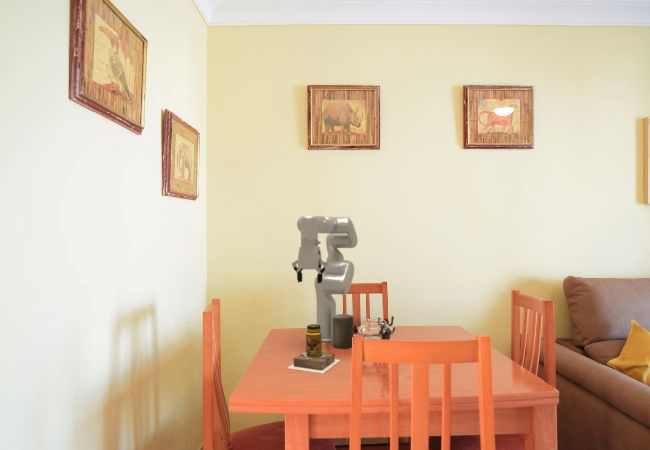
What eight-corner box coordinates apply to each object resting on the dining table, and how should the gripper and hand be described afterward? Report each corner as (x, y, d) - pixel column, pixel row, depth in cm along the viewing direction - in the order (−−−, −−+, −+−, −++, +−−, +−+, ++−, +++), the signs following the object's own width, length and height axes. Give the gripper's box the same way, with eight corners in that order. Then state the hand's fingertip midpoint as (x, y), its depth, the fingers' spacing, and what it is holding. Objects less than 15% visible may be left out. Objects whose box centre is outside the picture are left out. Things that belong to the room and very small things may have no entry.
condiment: (308, 359, 155) (307, 328, 155) (301, 353, 163) (301, 323, 163) (326, 357, 158) (325, 326, 158) (318, 351, 166) (318, 321, 166)
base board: (307, 357, 170) (307, 355, 170) (340, 361, 164) (340, 359, 164) (287, 369, 155) (287, 367, 155) (322, 375, 149) (322, 373, 149)
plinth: (307, 357, 167) (307, 350, 168) (334, 361, 162) (334, 353, 163) (293, 366, 157) (293, 358, 157) (321, 370, 152) (321, 362, 152)
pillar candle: (354, 348, 183) (353, 315, 183) (332, 348, 183) (332, 315, 184) (353, 343, 193) (352, 311, 193) (332, 343, 193) (332, 311, 193)
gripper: (330, 243, 180) (330, 282, 180) (296, 243, 187) (296, 280, 187) (323, 244, 173) (323, 284, 173) (288, 243, 180) (288, 282, 180)
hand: (309, 282), depth 180 cm, fingers open, 9 cm apart
